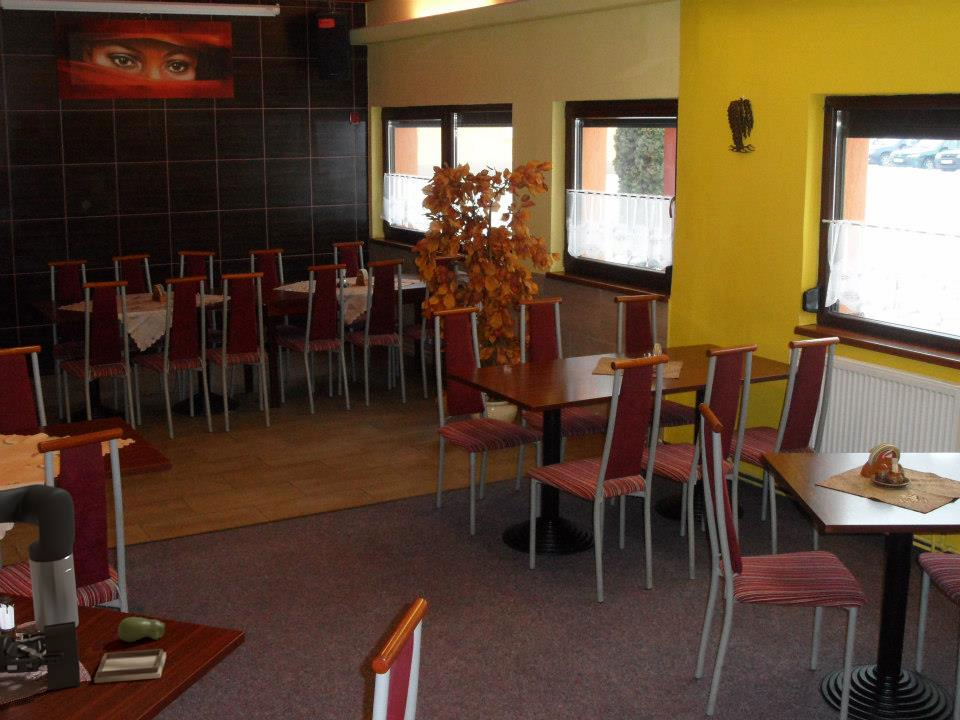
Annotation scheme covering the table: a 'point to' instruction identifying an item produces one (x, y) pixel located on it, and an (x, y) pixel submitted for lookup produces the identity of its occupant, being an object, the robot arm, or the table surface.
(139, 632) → the pear
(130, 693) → the table surface
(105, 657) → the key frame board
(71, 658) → the phone stand
